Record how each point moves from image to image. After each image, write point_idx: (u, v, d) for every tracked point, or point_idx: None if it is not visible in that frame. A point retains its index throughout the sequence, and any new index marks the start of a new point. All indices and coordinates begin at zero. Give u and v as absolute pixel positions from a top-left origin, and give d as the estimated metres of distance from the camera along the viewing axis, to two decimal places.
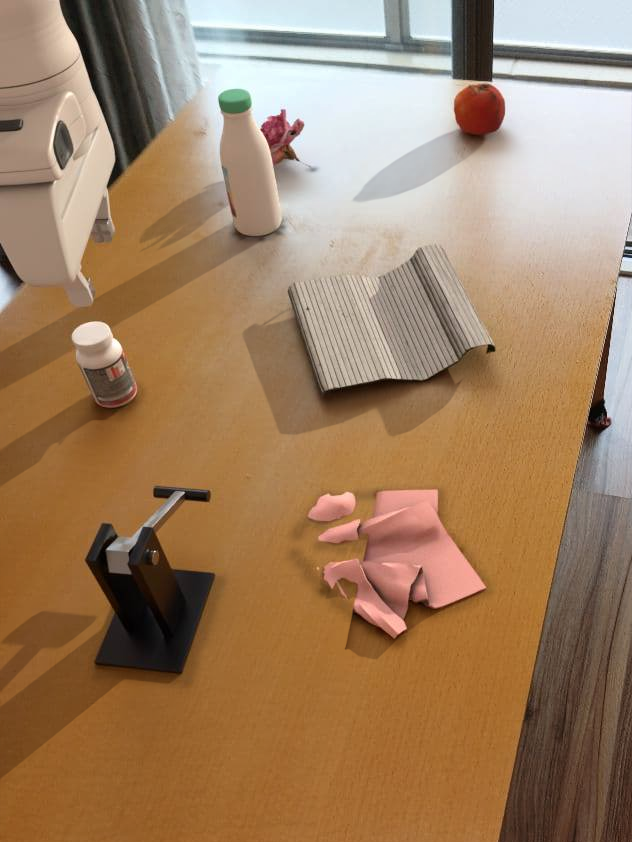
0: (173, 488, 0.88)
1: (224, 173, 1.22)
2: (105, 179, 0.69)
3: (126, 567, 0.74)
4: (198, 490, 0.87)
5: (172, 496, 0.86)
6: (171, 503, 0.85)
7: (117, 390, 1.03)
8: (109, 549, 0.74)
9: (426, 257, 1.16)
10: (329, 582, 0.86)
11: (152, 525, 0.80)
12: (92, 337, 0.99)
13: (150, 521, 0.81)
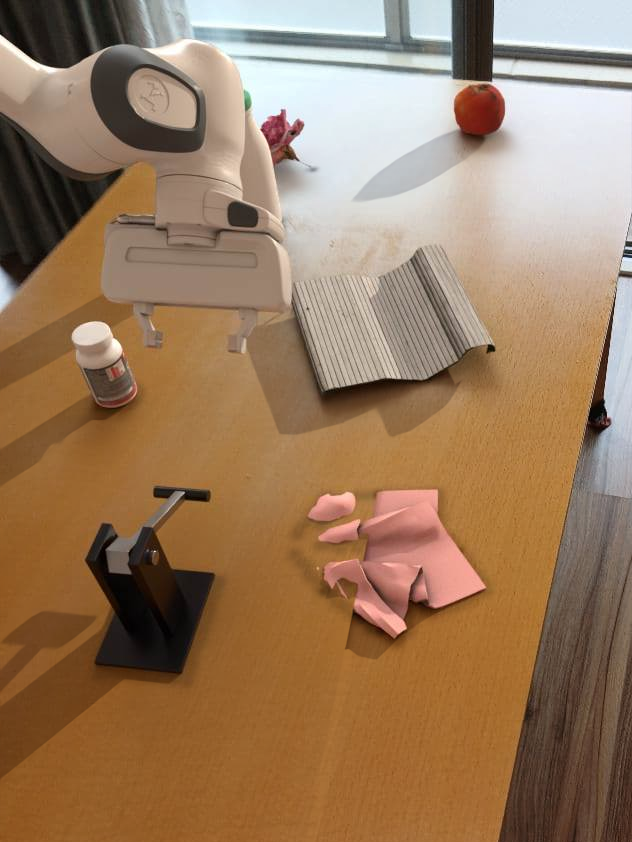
0: (173, 488, 0.88)
1: None
2: None
3: (126, 567, 0.74)
4: (198, 490, 0.87)
5: (172, 496, 0.86)
6: (171, 503, 0.85)
7: (117, 390, 1.03)
8: (109, 549, 0.74)
9: (426, 257, 1.16)
10: (329, 582, 0.86)
11: (152, 525, 0.80)
12: (92, 337, 0.99)
13: (150, 521, 0.81)
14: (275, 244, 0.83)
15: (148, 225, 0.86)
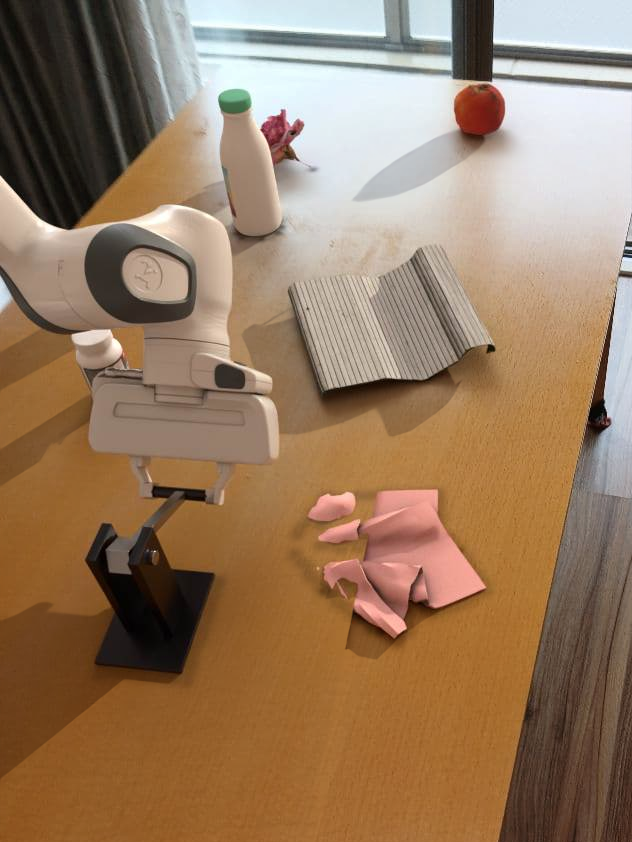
0: (173, 488, 0.88)
1: (224, 173, 1.22)
2: None
3: (126, 567, 0.74)
4: (198, 490, 0.87)
5: (172, 496, 0.86)
6: (171, 503, 0.85)
7: None
8: (109, 549, 0.74)
9: (426, 257, 1.16)
10: (329, 582, 0.86)
11: (152, 525, 0.80)
12: (92, 337, 0.99)
13: (150, 521, 0.81)
14: (262, 404, 0.83)
15: (136, 379, 0.86)
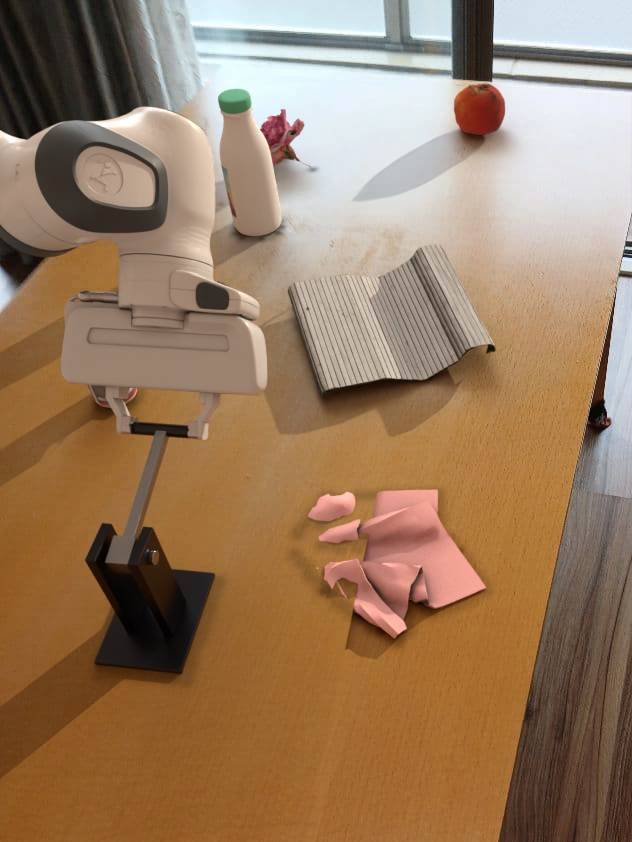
0: (153, 426, 0.81)
1: (224, 173, 1.22)
2: None
3: (130, 571, 0.75)
4: (180, 428, 0.81)
5: (154, 442, 0.81)
6: (155, 456, 0.80)
7: None
8: (109, 561, 0.74)
9: (426, 257, 1.16)
10: (329, 582, 0.86)
11: (143, 502, 0.77)
12: None
13: (140, 496, 0.78)
14: (248, 327, 0.77)
15: (111, 303, 0.80)
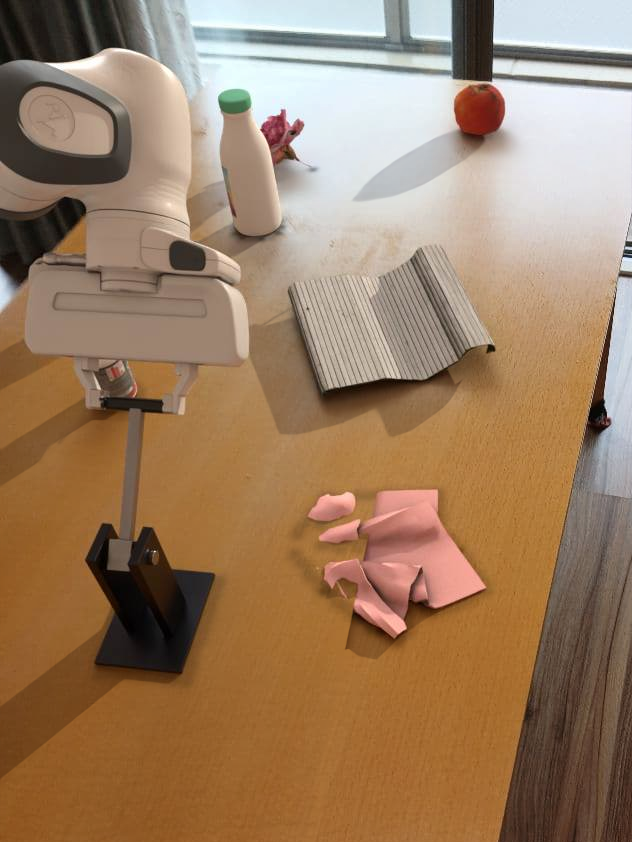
0: (126, 404, 0.75)
1: (224, 173, 1.22)
2: None
3: None
4: (155, 406, 0.75)
5: (130, 423, 0.75)
6: (135, 441, 0.75)
7: (117, 390, 1.03)
8: (111, 569, 0.74)
9: (426, 257, 1.16)
10: (329, 582, 0.86)
11: (132, 497, 0.75)
12: None
13: (127, 489, 0.75)
14: (227, 290, 0.70)
15: (79, 266, 0.73)
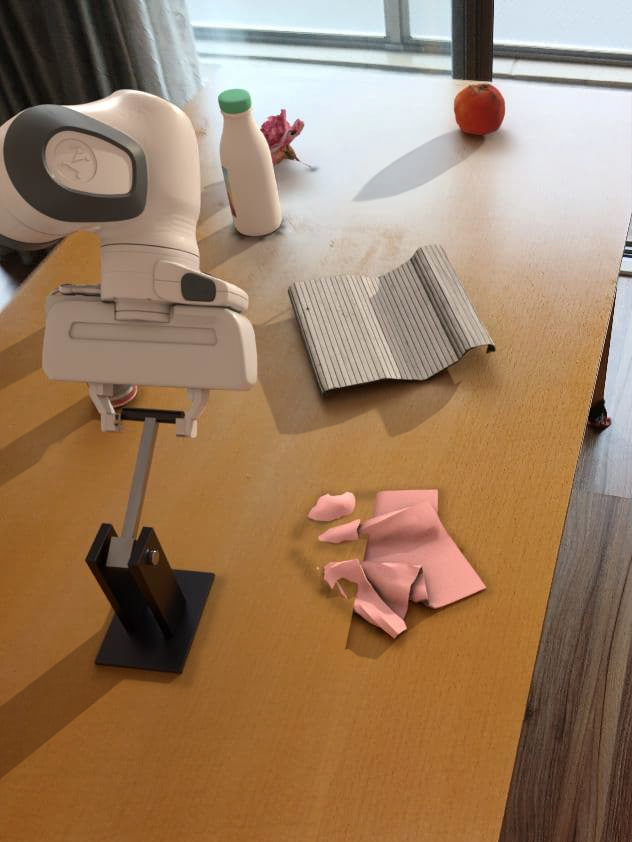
0: (142, 413, 0.78)
1: (224, 173, 1.22)
2: None
3: None
4: (169, 415, 0.78)
5: (144, 430, 0.78)
6: (147, 447, 0.78)
7: (117, 390, 1.03)
8: (109, 565, 0.74)
9: (426, 257, 1.16)
10: (329, 582, 0.86)
11: (138, 499, 0.76)
12: None
13: (134, 491, 0.77)
14: (236, 319, 0.74)
15: (94, 296, 0.77)
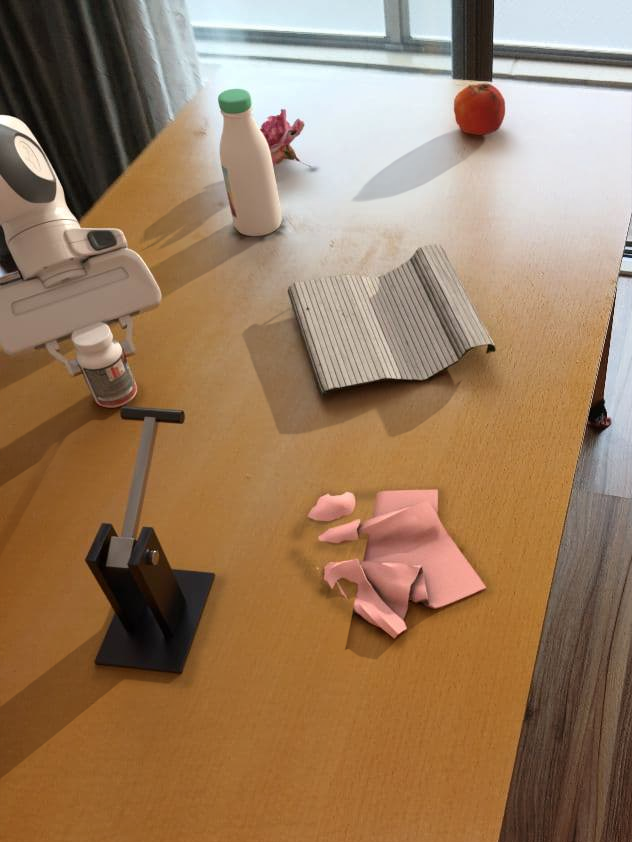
0: (141, 412, 0.78)
1: (224, 173, 1.22)
2: None
3: None
4: (169, 414, 0.78)
5: (144, 430, 0.78)
6: (146, 447, 0.78)
7: (117, 390, 1.03)
8: (109, 565, 0.74)
9: (426, 257, 1.16)
10: (329, 582, 0.86)
11: (138, 499, 0.76)
12: (92, 337, 0.99)
13: (134, 491, 0.77)
14: (136, 253, 1.01)
15: (15, 281, 0.98)
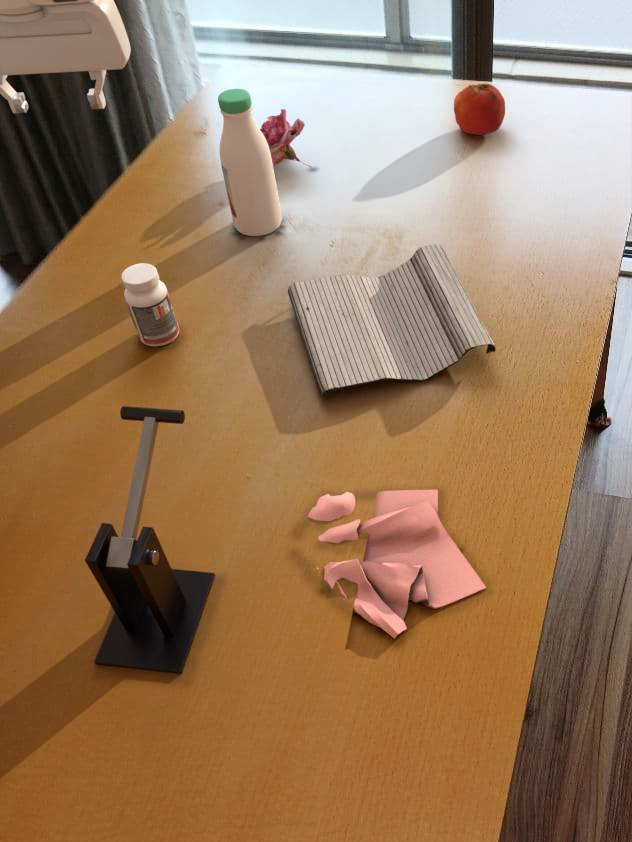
0: (141, 412, 0.78)
1: (224, 173, 1.22)
2: None
3: None
4: (169, 414, 0.78)
5: (144, 430, 0.78)
6: (146, 447, 0.78)
7: (162, 329, 1.11)
8: (109, 565, 0.74)
9: (426, 257, 1.16)
10: (329, 582, 0.86)
11: (138, 499, 0.76)
12: (140, 276, 1.06)
13: (134, 491, 0.77)
14: (102, 10, 0.88)
15: None
